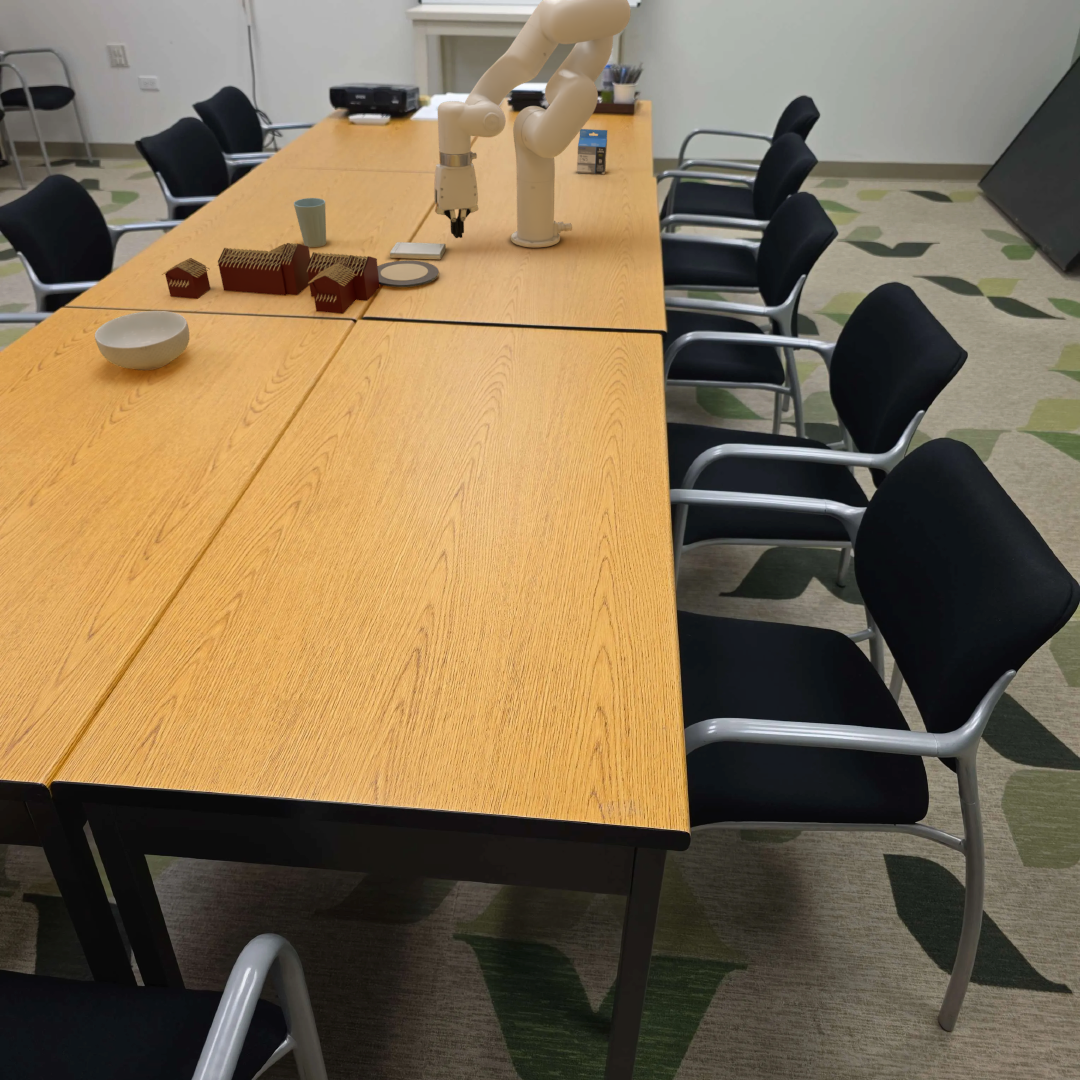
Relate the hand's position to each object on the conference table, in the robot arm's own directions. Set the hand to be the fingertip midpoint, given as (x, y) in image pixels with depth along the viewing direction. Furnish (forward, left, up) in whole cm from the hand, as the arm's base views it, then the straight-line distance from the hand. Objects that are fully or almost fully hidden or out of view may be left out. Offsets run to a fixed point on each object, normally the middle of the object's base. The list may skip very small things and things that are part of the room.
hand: (457, 236), depth 229 cm
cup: (+33, -16, -4) cm, 37 cm away
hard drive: (+10, 0, -4) cm, 11 cm away
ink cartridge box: (-60, -56, -4) cm, 82 cm away
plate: (+17, +15, -3) cm, 23 cm away
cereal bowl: (+74, +43, -4) cm, 86 cm away
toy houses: (+47, +14, -3) cm, 49 cm away
